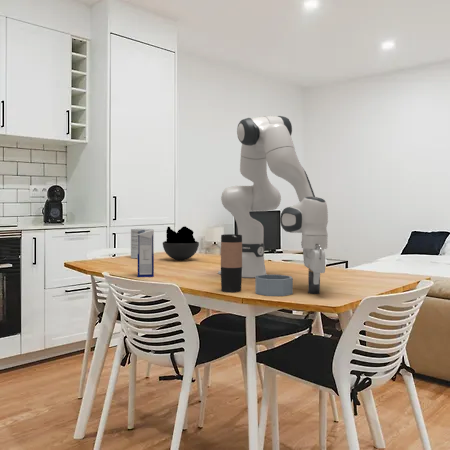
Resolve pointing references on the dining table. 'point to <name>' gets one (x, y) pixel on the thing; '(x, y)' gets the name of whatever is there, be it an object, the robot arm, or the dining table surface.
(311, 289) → the battery cell
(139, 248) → the milk carton
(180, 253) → the coal bowl
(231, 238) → the travel mug
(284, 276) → the cup
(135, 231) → the supplement box
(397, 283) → the dining table surface
